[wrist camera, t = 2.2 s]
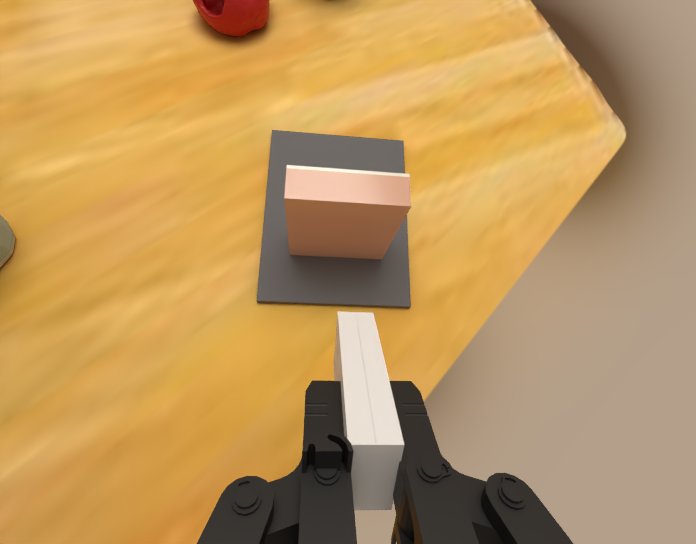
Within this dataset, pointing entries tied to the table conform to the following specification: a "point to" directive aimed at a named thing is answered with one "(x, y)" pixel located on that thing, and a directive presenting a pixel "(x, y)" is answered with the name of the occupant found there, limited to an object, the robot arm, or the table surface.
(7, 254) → the disposable coffee cup
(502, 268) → the table surface
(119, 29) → the table surface
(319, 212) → the tile
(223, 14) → the pomegranate
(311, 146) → the mat
